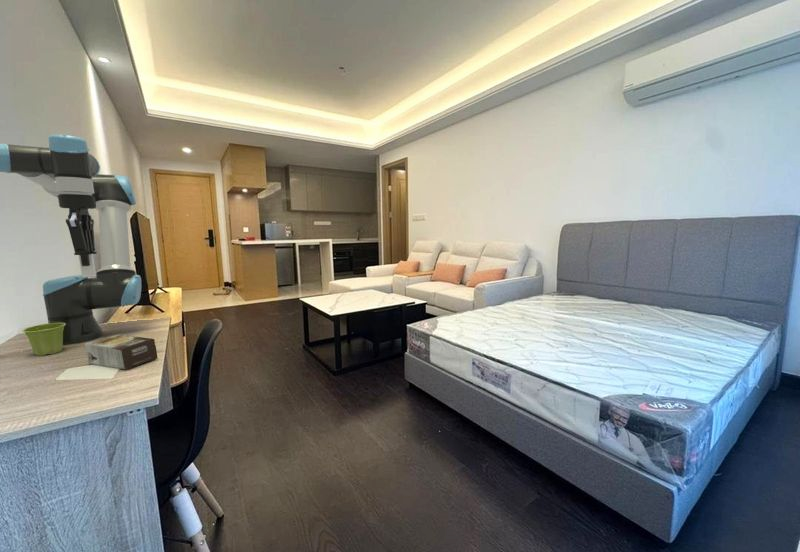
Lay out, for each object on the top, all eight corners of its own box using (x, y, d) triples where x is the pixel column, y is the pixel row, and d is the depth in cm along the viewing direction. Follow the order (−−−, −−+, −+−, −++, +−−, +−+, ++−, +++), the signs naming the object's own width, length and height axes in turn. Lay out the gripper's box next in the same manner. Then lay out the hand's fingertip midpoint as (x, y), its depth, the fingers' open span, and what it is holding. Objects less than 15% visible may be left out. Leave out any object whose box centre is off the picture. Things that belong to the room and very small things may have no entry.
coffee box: (118, 333, 103) (156, 337, 98) (121, 352, 104) (158, 357, 99) (83, 343, 94) (122, 348, 89) (87, 364, 95) (126, 370, 90)
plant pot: (77, 347, 110) (73, 322, 109) (47, 358, 101) (42, 331, 100) (50, 347, 111) (46, 322, 109) (18, 358, 101) (13, 331, 100)
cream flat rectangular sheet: (67, 370, 92) (66, 368, 92) (125, 360, 98) (125, 359, 98) (37, 398, 77) (36, 396, 76) (109, 385, 83) (109, 383, 83)
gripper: (67, 195, 96) (80, 274, 100) (47, 191, 84) (62, 281, 88) (101, 196, 99) (112, 272, 103) (85, 193, 88) (98, 279, 92)
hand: (89, 276), depth 96 cm, fingers closed
